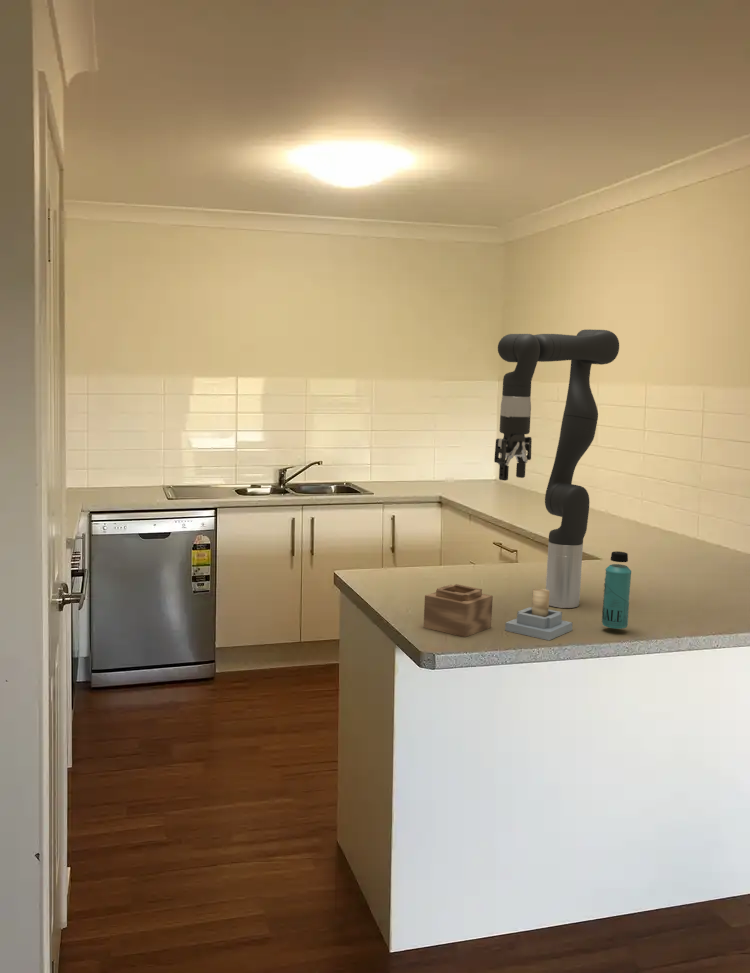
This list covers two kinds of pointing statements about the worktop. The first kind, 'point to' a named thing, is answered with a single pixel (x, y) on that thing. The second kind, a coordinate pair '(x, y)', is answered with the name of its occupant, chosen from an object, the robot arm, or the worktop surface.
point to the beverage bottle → (616, 593)
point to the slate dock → (539, 624)
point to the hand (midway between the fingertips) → (512, 478)
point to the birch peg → (540, 602)
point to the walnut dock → (458, 610)
